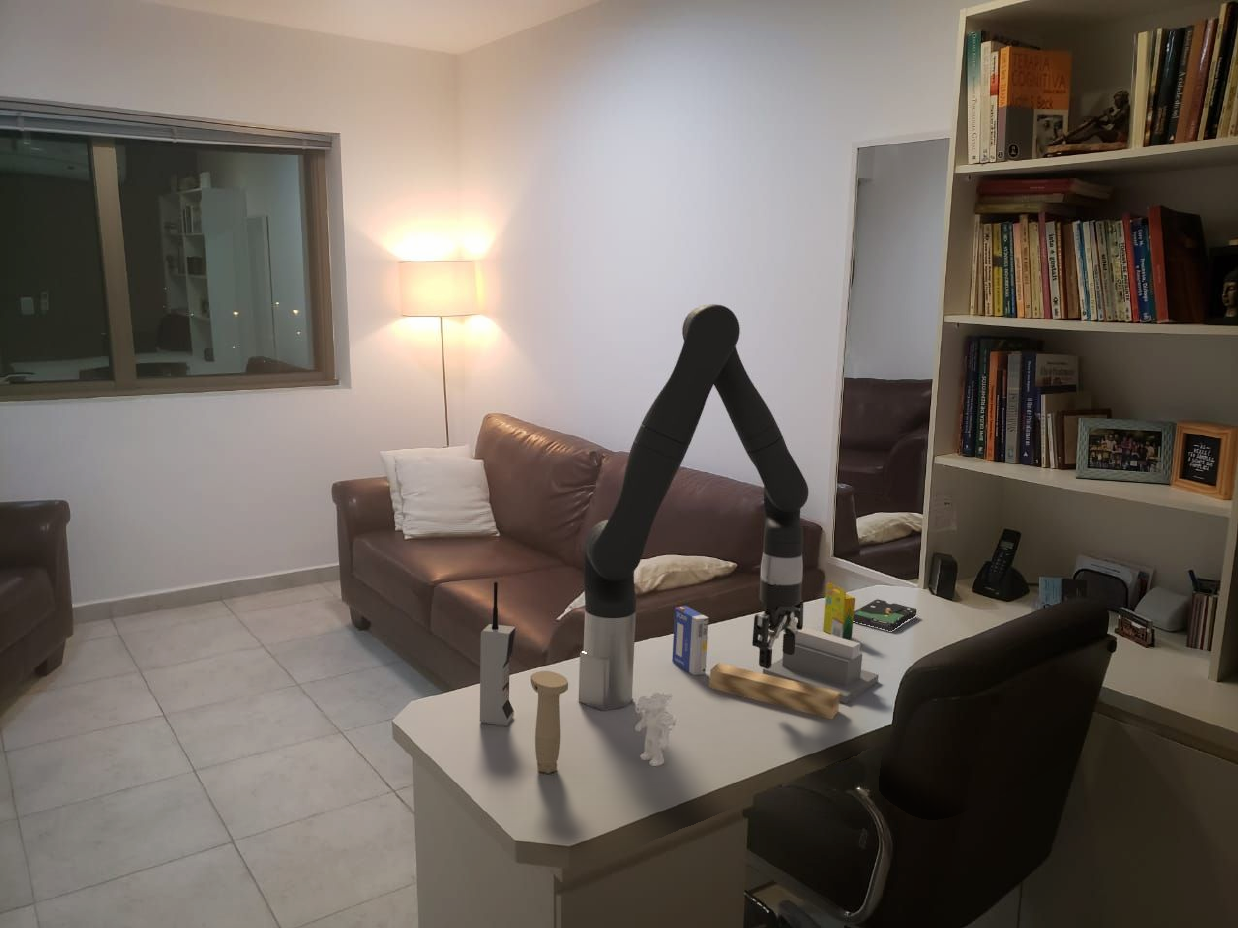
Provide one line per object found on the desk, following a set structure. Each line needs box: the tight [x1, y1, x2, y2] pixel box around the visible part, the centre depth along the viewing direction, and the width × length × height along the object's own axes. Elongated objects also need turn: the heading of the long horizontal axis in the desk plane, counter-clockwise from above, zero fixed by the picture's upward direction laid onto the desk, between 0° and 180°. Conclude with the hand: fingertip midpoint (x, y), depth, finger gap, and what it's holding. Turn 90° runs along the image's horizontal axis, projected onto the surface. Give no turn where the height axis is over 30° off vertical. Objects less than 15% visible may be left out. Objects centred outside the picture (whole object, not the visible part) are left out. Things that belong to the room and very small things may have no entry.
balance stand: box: [762, 626, 879, 704], centre depth 183 cm, size 14×18×9 cm
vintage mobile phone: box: [479, 581, 516, 727], centre depth 158 cm, size 4×5×25 cm
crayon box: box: [822, 581, 856, 641], centre depth 207 cm, size 7×3×12 cm, turn 22°
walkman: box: [672, 605, 709, 676], centre depth 185 cm, size 8×3×12 cm, turn 31°
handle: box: [530, 670, 569, 774], centre depth 143 cm, size 5×6×15 cm
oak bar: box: [709, 662, 840, 720], centre depth 173 cm, size 24×4×4 cm, turn 61°
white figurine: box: [634, 692, 677, 767], centre depth 148 cm, size 9×4×12 cm, turn 33°
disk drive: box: [853, 598, 917, 631], centre depth 220 cm, size 10×3×15 cm
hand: (776, 660), depth 172 cm, fingers open, 8 cm apart
